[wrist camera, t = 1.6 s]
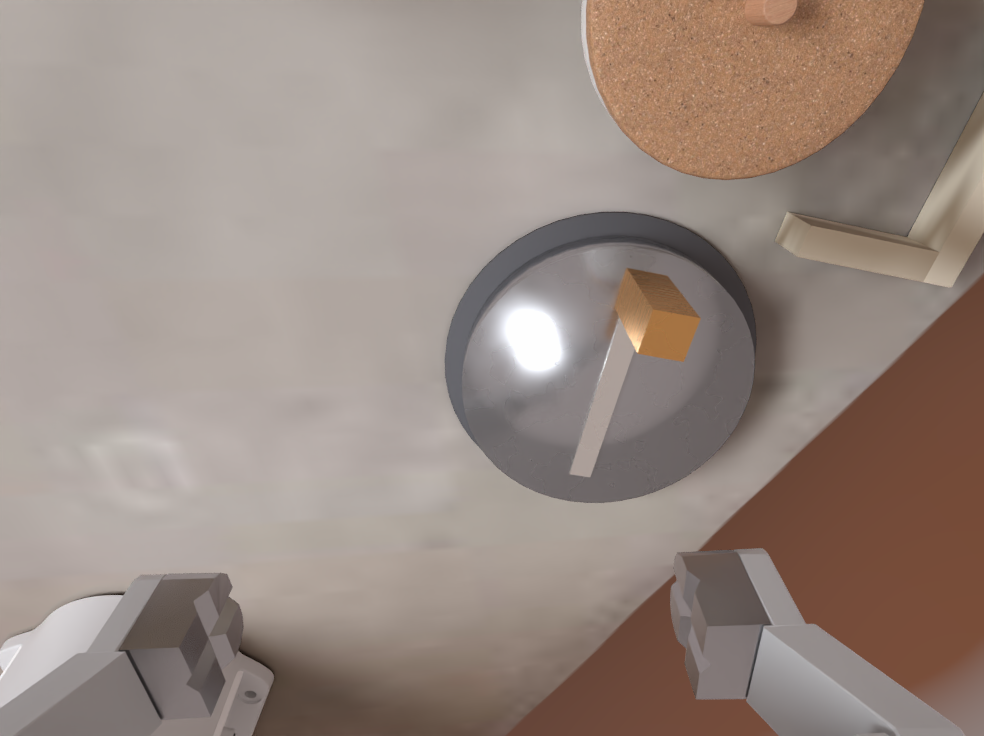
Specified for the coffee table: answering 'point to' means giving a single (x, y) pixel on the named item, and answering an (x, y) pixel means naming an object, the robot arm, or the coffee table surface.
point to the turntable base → (568, 233)
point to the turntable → (606, 370)
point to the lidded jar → (741, 75)
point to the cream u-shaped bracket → (934, 236)
